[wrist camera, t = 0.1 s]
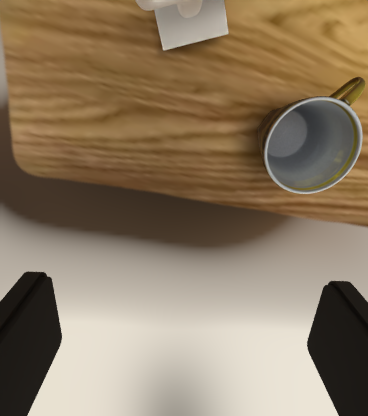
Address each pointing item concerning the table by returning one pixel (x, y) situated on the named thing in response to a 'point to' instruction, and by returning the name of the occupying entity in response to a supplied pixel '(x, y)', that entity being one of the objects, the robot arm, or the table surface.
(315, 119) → the ceramic cup
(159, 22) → the figurine
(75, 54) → the table surface
